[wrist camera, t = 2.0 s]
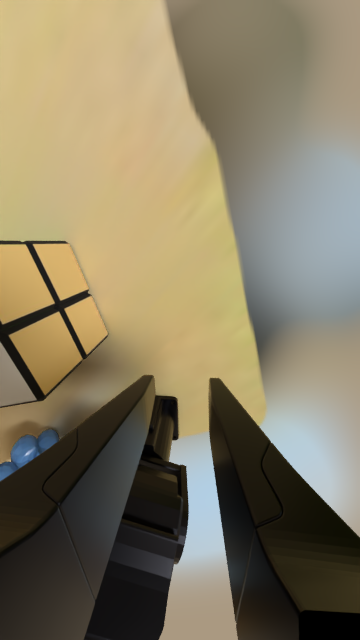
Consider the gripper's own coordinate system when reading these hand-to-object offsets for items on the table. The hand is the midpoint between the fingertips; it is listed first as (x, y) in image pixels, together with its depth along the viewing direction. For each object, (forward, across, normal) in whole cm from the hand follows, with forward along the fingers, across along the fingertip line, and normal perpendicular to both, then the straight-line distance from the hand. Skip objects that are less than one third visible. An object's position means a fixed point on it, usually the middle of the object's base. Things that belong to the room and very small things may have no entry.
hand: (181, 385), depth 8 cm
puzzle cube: (+12, +15, 0) cm, 19 cm away
